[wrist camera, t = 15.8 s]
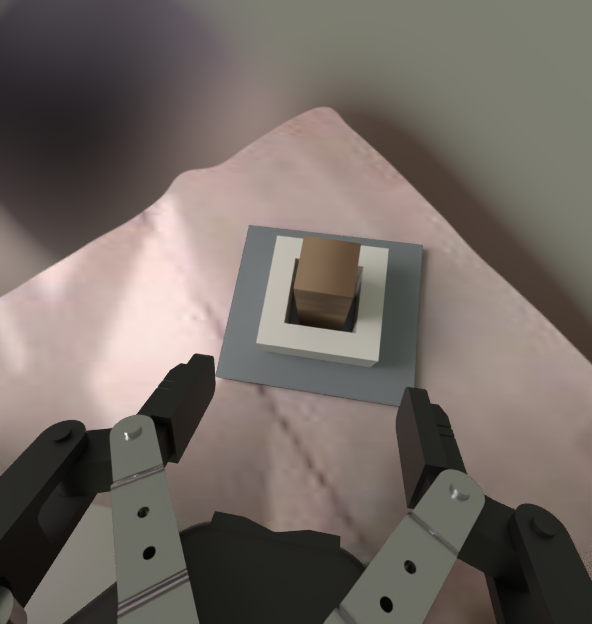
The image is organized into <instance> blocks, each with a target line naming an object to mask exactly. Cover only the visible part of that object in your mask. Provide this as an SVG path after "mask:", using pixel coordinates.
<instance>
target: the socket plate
mask: <svg viewBox="0 0 592 624" xmlns="http://www.w3.org/2000/svg"><path fill="white" fill-rule="evenodd" d="M304 236H311V237H319V238H326V239H333V240H340V241H347V242H355V243H361V248H360V255H359V262H358V269H357V276H356V283H355V290H354V297H353V300H352V303H351V306H350V309H349V312H348V314H347V317H346V320H345V323H344V326H343V329H342V331H336V330H329V329H322V328H315V327H309V326H303V325H300V323H299V317H298V311H297V306H296V300H295V294H294V283H295V278H296V273H297V268H298V263H299V258H300V253H301V248H302V243H303V238H304ZM422 250H423V245H418V244H409V243H400V242H392V241H383V240H374V239H366V238H357V237H348V236H340V235H331V234H322V233H314V232H305V231H296V230H288V229H279V228H270V227H261V226H253V225H249V228H248V232H247V237H246V241H245V246H244V250H243V255H242V259H241V264H240V268H239V273H238V277H237V282H236V286H235V291H234V295H233V299H232V304H231V308H230V313H229V317H228V322H227V326H226V331H225V335H224V340H223V344H222V349H221V353H220V358H219V362H218V367H217V371H216V375H215V376H216V377H219V378H225V379H231V380H238V381H244V382H250V383H256V384H262V385H268V386H275V387H281V388H287V389H293V390H299V391H305V392H312V393H318V394H324V395H330V396H336V397H342V398H349V399H355V400H361V401H367V402H373V403H380V404H386V405H392V406H398V407H399V406H400V403H401V399H402V396H403V393H404V390H405V388H406V387H412V388H414V381H415V365H416V348H417V332H418V316H419V299H420V283H421V267H422Z"/></svg>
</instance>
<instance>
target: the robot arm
mask: <svg viewBox="0 0 592 624" xmlns="http://www.w3.org/2000/svg"><path fill="white" fill-rule="evenodd" d="M215 385H216V383H215V365H214V357H213V356H210V355H203V354H197V353H196V354H194V355H193V356H192V358H191V359H190V360H189V362H188V363H187V364H182V363H181V364H179V365H177V366H176V367H174V368H173V369H171V370H170V371H169V373H168V374H167V375H166V376H165V378H164V380H163V381H162V382H161V383H160V384H159V386H158V388H156V390H155V391H154V392H153V393H152V395H151V396H150V397H149V399H148V400H147V401H146V403H145V404H144V405H143V407H142V408H141V409H140V410H139V412H138V413H137V414H136V415H133V416H129V417H126V418H124V419H122V420H121V421H119V422H118V423H117V424H116V425H115V426H114V427H113V428H109V429H99V430H89V431H86V428H85V425H84V424H83V423H82V422H80V421H77V420H67V421H62V422H59V423H56V424H54V425H52V426H50V427H49V428H47V429H46V430H45V431H43V432H42V433H41V434H40V435H39V436H38V437H37V438H36V440H35V441H34V442H33V443H32V444H31V445H30V446H29V447H28V448H27V449H26V450H25V451H24V452H23V453H22V454H21V455H20V456H19V457H18V458H17V460H16V461H15V462H14V463H13V464H12V465H11V466H10V467H9V468H8V469H7V470H6V471H5V472H4V473H3V474H2V475H1V476H0V624H27V615H26V612H25V610H24V607H25V606H26V604H27V603H28V601H29V600H30V598H31V596H32V595H33V593H34V592H35V590H36V589H37V587H38V585H39V584H40V582H41V581H42V579H43V578H44V576H45V574H46V573H47V571H48V570H49V568H50V567H51V565H52V564H53V562H54V560H55V559H56V557H57V556H58V554H59V553H60V551H61V549H62V548H63V546H64V545H65V543H66V542H67V540H68V538H69V537H70V535H71V534H72V532H73V531H74V529H75V527H76V526H77V524H78V523H79V521H80V520H81V518H82V516H83V515H84V513H85V512H86V510H87V509H88V507H89V506H90V504H91V502H92V501H93V499H94V498H95V496H96V495H97V493H101V492H109V491H111V503H112V516H113V530H114V531H113V532H114V547H115V561H116V576H117V581H116V582H115V583H114V584H112V585H111V586H110V587H109V588H107V589H106V590H105V591H104V592H102V593H101V594H100V595H99V596H97V597H96V598H95V599H93V600H92V601H91V602H90V603H89V604H87V605H86V606H85V607H83V608H82V609H81V610H80V611H78V612H77V613H76V614H74V615H73V616H72V617H71V618H70V619H68V620H67V621H66V622H64V623H63V624H422V622H423V620H424V619H425V617H426V615H427V613H428V611H429V609H430V607H431V605H432V604H433V602H434V600H435V598H436V596H437V594H438V592H439V590H440V588H441V587H442V585H443V583H444V581H445V579H446V577H447V575H448V573H449V572H450V570H451V568H452V566H453V564H454V562H455V560H456V558H458V559H460V560H462V561H464V562H466V563H467V564H469V565H471V566H473V567H475V568H477V569H478V570H480V571H482V572H484V574H485V578H486V582H487V586H488V590H489V594H490V598H491V602H492V606H493V610H494V614H495V619H496V623H497V624H592V581H591V579H590V577H589V575H588V572H587V570H586V568H585V566H584V564H583V562H582V560H581V558H580V556H579V554H578V552H577V550H576V548H575V546H574V543H573V541H572V539H571V537H570V535H569V533H568V531H567V530H566V528H565V527H564V525H563V524H562V523H561V522H560V521H559V520H558V519H557V518H556V517H555V516H554V515H553V514H551V513H550V512H548V511H547V510H545V509H543V508H542V507H539V506H537V505H533V504H521V505H519V506H518V507H517V508H516V510H514V509H512V508H510V507H508V506H506V505H504V504H501V503H499V502H497V501H495V500H493V499H491V498H489V497H487V496H486V495H484V493H483V491H482V489H481V488H480V486H479V485H478V484H477V482H476V481H475V480H474V479H472V478H471V477H470V476H468V475H467V472H466V469H465V466H464V463H463V460H462V457H461V454H460V451H459V448H458V445H457V442H456V439H454V433H453V430H452V429H451V425H450V422H449V419H448V416H447V414H446V413H445V412H444V411H443V409H442V408H441V407H440V406H439V405H437V404H431V403H430V400H429V396H428V393H427V391H426V390H425V389H419V388H412V387H406V388H405V390H404V393H403V396H402V399H401V403H400V406H399V409H398V412H397V417H396V434H397V440H398V447H399V454H400V461H401V468H402V475H403V482H404V488H405V495H406V502H407V508H411V509H414V510H413V511H412V512H411V513H410V512H409V513H408V514H407V515H406V516H405V517H404V518H403V520H402V521H401V522H400V524H399V525H398V527H397V528H396V529H395V531H394V532H393V533H392V535H391V536H390V537H389V539H388V540H387V541H386V543H385V544H384V545H383V547H382V548H381V550H380V551H379V552H378V554H377V555H376V556H375V558H374V559H373V560H372V562H371V563H370V564H369V566H368V567H367V568H366V567H365V566H364V565H363V564H362V563H361V562H360V561H359V560H358V559H357V558H356V557H355V556H353V555H352V554H351V553H349V552H348V551H346V550H345V549H343V548H341V547H340V536H337V535H332V534H327V533H322V532H317V531H312V530H301V531H288V532H273V531H271V530H269V529H267V528H265V527H263V526H261V525H259V524H257V523H255V522H253V521H252V520H250V519H248V518H246V517H242V516H237V515H232V514H227V513H222V512H217V511H215V513H214V515H213V518H212V521H209V522H203V523H199V524H196V525H193V526H191V527H188V528H186V529H184V530H182V531H181V532H178V527H177V523H176V519H175V514H174V510H173V505H172V501H171V496H170V492H169V487H168V483H167V478H166V474H165V469H164V468H165V466H166V464H167V463H168V462H173V463H178V462H179V461H180V459H181V457H182V455H183V453H184V451H185V449H186V447H187V445H188V443H189V442H190V440H191V438H192V436H193V434H194V432H195V430H196V428H197V426H198V424H199V423H200V421H201V419H202V417H203V415H204V413H205V411H206V409H207V407H208V405H209V404H210V402H211V400H212V398H213V395H214V392H215Z"/></svg>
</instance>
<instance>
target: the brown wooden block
mask: <svg viewBox="0 0 592 624" xmlns="http://www.w3.org/2000/svg"><path fill="white" fill-rule="evenodd" d="M360 248H361V243H355V242H347V241H340V240H333V239H326V238H319V237H311V236H304V238H303V243H302V248H301V253H300V258H299V263H298V268H297V273H296V278H295V283H294V294H295V300H296V306H297V311H298V317H299V323H300V325H303V326H309V327H315V328H322V329H329V330H336V331H342V329H343V326H344V323H345V320H346V317H347V314H348V312H349V309H350V306H351V303H352V300H353V297H354V290H355V283H356V276H357V269H358V262H359V255H360Z"/></svg>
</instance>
